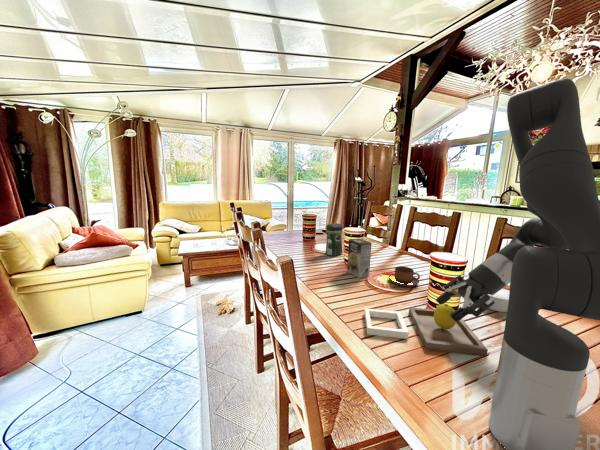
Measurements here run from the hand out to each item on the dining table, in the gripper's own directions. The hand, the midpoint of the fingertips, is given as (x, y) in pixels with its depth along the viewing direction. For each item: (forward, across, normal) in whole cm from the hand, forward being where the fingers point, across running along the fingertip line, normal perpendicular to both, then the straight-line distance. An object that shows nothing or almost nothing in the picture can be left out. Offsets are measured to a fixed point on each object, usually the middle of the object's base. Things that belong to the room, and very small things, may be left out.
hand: (444, 310), depth 69 cm
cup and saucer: (+5, -35, +5) cm, 35 cm away
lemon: (+4, 0, +4) cm, 6 cm away
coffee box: (+18, -43, -8) cm, 47 cm away
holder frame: (+16, -1, -7) cm, 17 cm away
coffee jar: (+25, -73, -15) cm, 79 cm away
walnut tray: (+5, 0, +5) cm, 7 cm away
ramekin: (-13, -18, +23) cm, 32 cm away
